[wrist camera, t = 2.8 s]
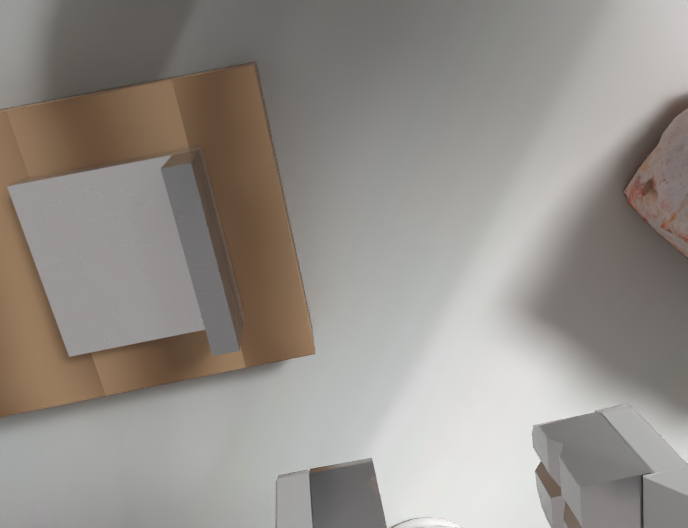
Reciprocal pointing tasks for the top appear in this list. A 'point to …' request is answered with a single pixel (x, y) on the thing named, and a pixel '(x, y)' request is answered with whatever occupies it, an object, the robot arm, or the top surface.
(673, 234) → the food item
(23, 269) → the socket
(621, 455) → the robot arm
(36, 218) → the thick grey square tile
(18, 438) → the top surface
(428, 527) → the flower vase
